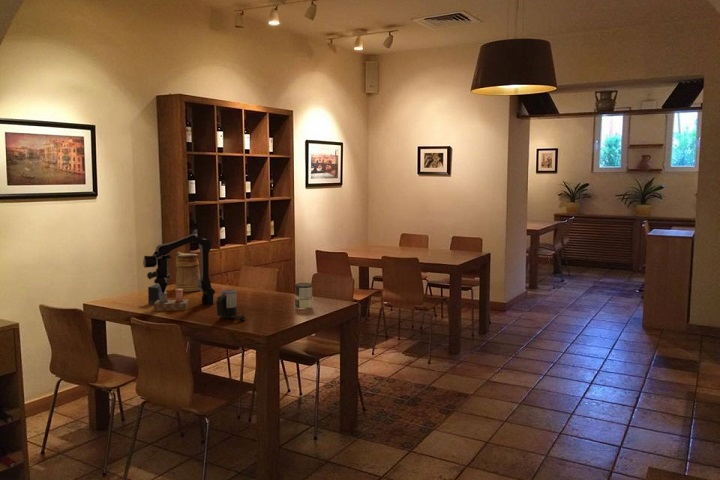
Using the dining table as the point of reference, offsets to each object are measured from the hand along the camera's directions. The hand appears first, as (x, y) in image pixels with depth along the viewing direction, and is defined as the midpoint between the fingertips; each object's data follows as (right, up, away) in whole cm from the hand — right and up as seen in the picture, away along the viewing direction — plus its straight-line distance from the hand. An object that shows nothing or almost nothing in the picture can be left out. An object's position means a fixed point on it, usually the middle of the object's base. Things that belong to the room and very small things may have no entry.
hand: (163, 292), depth 342 cm
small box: (-9, -8, +17) cm, 21 cm away
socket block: (+4, -9, +2) cm, 10 cm away
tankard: (-3, -3, +58) cm, 58 cm away
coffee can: (+81, -10, +8) cm, 82 cm away
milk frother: (+45, -13, -20) cm, 51 cm away
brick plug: (+9, -6, +2) cm, 11 cm away
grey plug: (0, -8, +1) cm, 8 cm away
